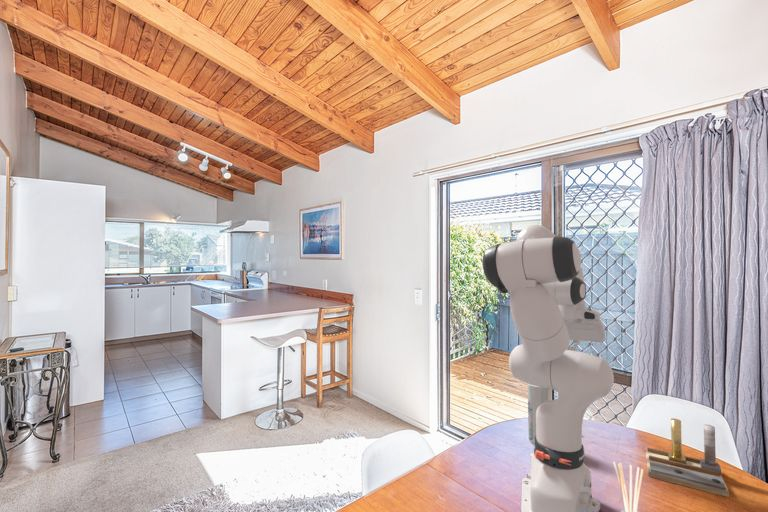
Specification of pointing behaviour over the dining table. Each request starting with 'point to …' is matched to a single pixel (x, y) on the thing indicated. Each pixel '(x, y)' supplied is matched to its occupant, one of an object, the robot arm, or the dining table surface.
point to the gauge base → (690, 467)
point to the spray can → (535, 407)
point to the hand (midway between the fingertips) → (571, 352)
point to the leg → (676, 442)
